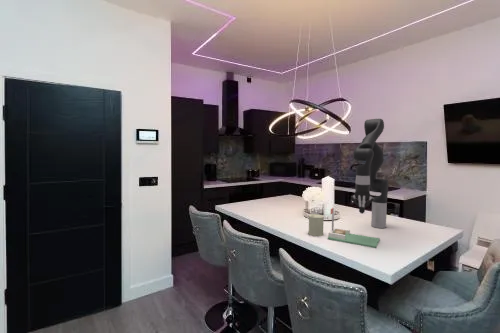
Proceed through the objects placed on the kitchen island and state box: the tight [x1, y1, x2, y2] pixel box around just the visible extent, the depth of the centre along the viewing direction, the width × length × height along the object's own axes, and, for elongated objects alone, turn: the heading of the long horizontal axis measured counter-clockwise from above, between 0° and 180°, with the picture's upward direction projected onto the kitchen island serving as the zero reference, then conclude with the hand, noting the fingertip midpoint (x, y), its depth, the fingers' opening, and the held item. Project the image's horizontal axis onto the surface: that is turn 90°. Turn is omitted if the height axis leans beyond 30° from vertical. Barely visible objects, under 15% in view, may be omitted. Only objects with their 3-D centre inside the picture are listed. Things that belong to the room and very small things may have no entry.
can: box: [307, 213, 325, 237], centre depth 166 cm, size 9×9×12 cm
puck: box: [335, 228, 346, 235], centre depth 161 cm, size 6×6×3 cm
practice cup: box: [327, 207, 351, 240], centre depth 160 cm, size 13×10×16 cm
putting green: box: [327, 233, 380, 249], centre depth 157 cm, size 16×26×1 cm, turn 58°
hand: (361, 213), depth 153 cm, fingers closed
